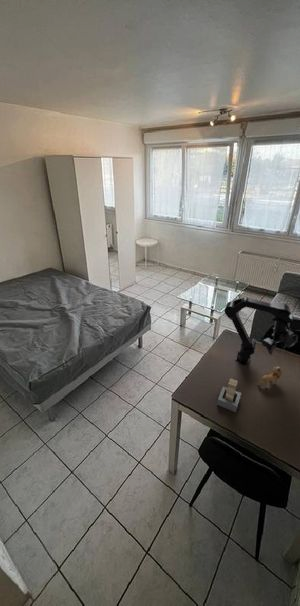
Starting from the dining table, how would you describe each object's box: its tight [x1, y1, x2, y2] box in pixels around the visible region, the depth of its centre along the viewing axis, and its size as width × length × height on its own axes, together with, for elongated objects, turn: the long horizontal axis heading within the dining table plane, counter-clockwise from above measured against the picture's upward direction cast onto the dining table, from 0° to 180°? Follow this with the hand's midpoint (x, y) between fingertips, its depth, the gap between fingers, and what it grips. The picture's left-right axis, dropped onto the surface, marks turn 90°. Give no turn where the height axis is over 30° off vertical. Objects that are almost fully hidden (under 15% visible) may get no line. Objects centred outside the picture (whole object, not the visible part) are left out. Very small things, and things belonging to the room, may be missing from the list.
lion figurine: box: [257, 366, 283, 389], centre depth 134 cm, size 15×5×9 cm, turn 121°
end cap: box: [216, 386, 242, 413], centre depth 125 cm, size 9×9×4 cm
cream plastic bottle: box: [225, 378, 239, 402], centre depth 123 cm, size 4×4×13 cm
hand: (276, 351), depth 139 cm, fingers open, 9 cm apart
